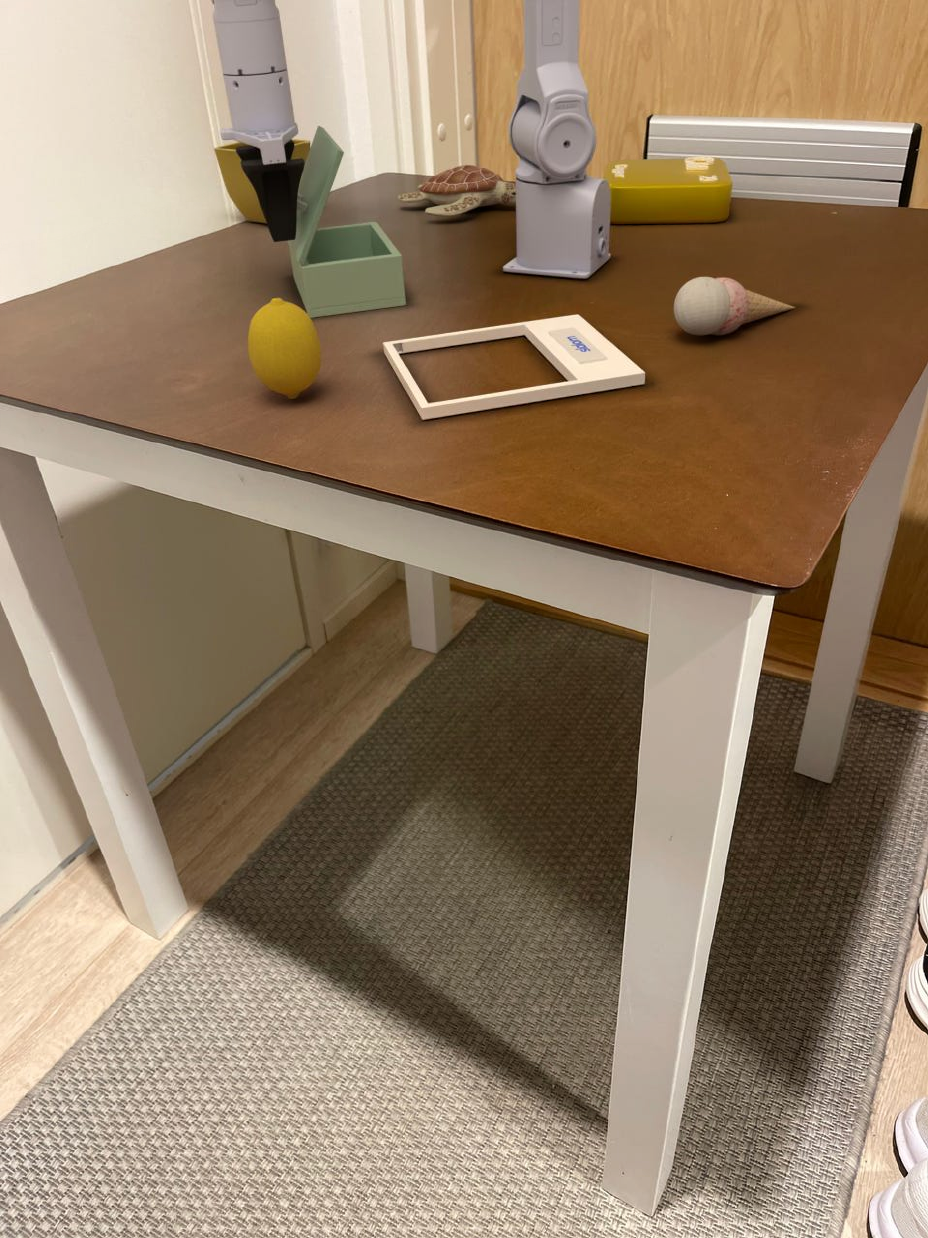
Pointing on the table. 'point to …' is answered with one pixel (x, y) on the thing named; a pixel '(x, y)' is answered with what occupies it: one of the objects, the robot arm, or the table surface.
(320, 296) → the cool box
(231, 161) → the flower pot
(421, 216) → the table surface
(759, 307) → the ice cream cone
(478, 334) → the photo frame
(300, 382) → the lemon
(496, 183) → the decorative turtle
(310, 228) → the cool box lid
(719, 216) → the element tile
